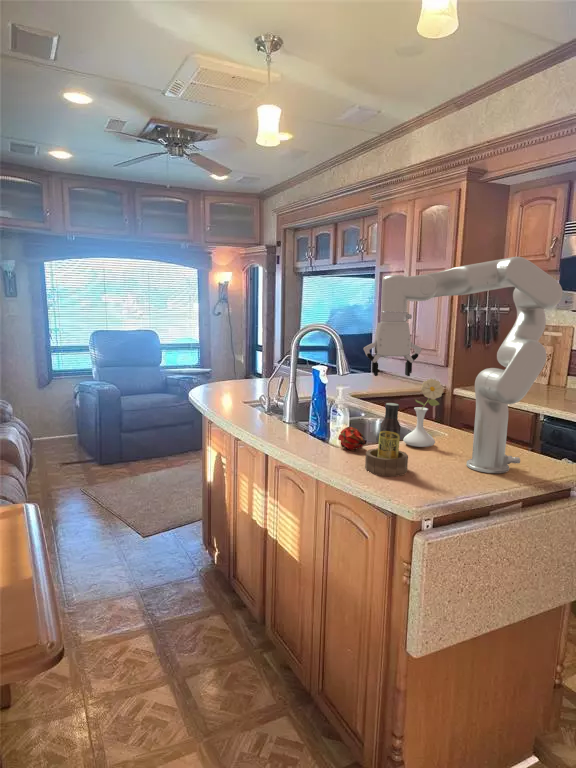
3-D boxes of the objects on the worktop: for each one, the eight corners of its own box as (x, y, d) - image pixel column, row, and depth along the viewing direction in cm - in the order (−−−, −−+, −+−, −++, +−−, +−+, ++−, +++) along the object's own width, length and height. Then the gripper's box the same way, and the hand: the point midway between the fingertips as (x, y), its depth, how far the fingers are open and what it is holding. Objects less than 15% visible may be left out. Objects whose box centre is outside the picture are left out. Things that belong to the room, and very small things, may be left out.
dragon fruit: (342, 448, 184) (361, 461, 174) (328, 437, 180) (346, 450, 169) (356, 429, 184) (375, 441, 174) (342, 418, 180) (361, 430, 170)
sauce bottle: (375, 468, 153) (377, 404, 150) (379, 463, 159) (381, 401, 156) (396, 471, 151) (399, 406, 148) (399, 465, 156) (403, 403, 154)
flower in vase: (401, 447, 180) (405, 379, 177) (404, 440, 191) (407, 375, 187) (439, 451, 176) (444, 381, 173) (439, 443, 187) (444, 377, 184)
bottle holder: (400, 463, 161) (401, 448, 160) (411, 476, 149) (412, 460, 148) (362, 463, 161) (363, 448, 160) (369, 475, 149) (370, 459, 148)
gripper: (419, 318, 152) (416, 374, 155) (362, 317, 152) (360, 373, 154) (426, 318, 145) (423, 377, 147) (366, 318, 144) (365, 377, 147)
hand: (391, 375), depth 151 cm, fingers open, 9 cm apart
